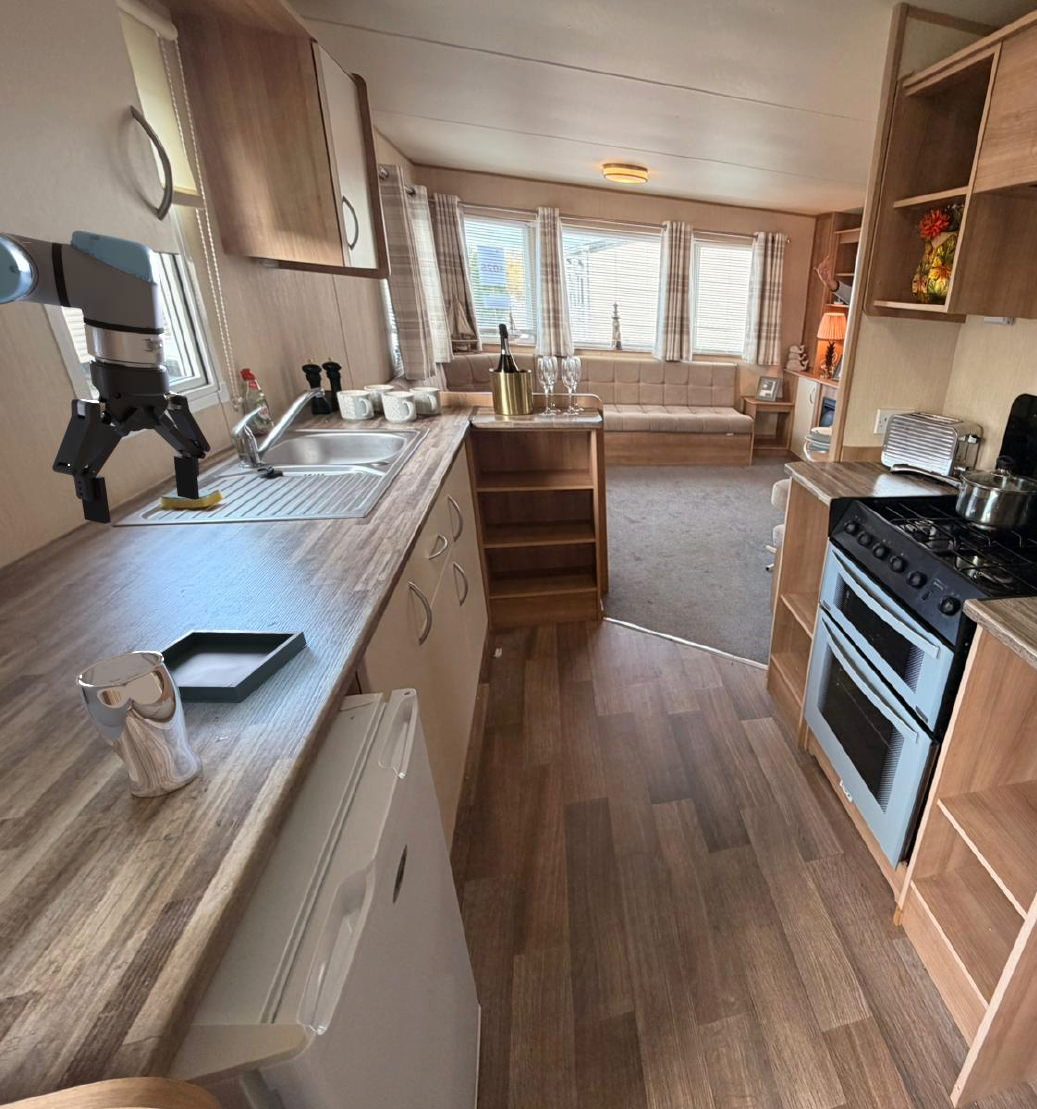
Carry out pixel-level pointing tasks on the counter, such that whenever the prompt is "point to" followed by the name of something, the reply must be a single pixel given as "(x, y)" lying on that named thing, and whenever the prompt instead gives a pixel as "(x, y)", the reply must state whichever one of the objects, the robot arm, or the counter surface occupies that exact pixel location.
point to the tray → (228, 662)
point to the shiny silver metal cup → (141, 720)
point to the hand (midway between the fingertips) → (146, 508)
